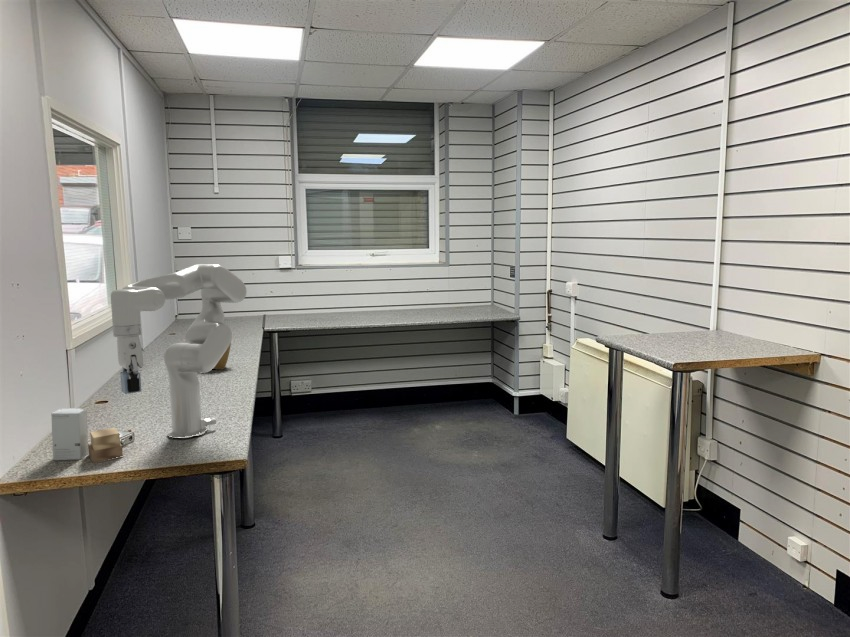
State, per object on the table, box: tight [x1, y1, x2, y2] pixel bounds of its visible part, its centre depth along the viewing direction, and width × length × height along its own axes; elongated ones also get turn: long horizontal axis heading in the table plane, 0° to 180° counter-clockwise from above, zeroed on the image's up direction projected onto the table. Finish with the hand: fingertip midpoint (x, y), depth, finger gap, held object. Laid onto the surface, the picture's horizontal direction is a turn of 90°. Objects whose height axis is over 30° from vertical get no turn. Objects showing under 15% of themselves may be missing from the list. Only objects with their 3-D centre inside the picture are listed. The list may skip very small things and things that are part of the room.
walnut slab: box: [88, 443, 124, 464], centre depth 184 cm, size 8×8×4 cm
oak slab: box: [89, 427, 121, 451], centre depth 183 cm, size 7×7×4 cm
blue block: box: [119, 370, 142, 395], centre depth 180 cm, size 4×4×6 cm
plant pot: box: [213, 341, 232, 370], centre depth 305 cm, size 15×15×16 cm
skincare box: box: [50, 407, 89, 461], centre depth 182 cm, size 8×6×15 cm
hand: (131, 389), depth 180 cm, fingers closed on blue block, 4 cm apart
